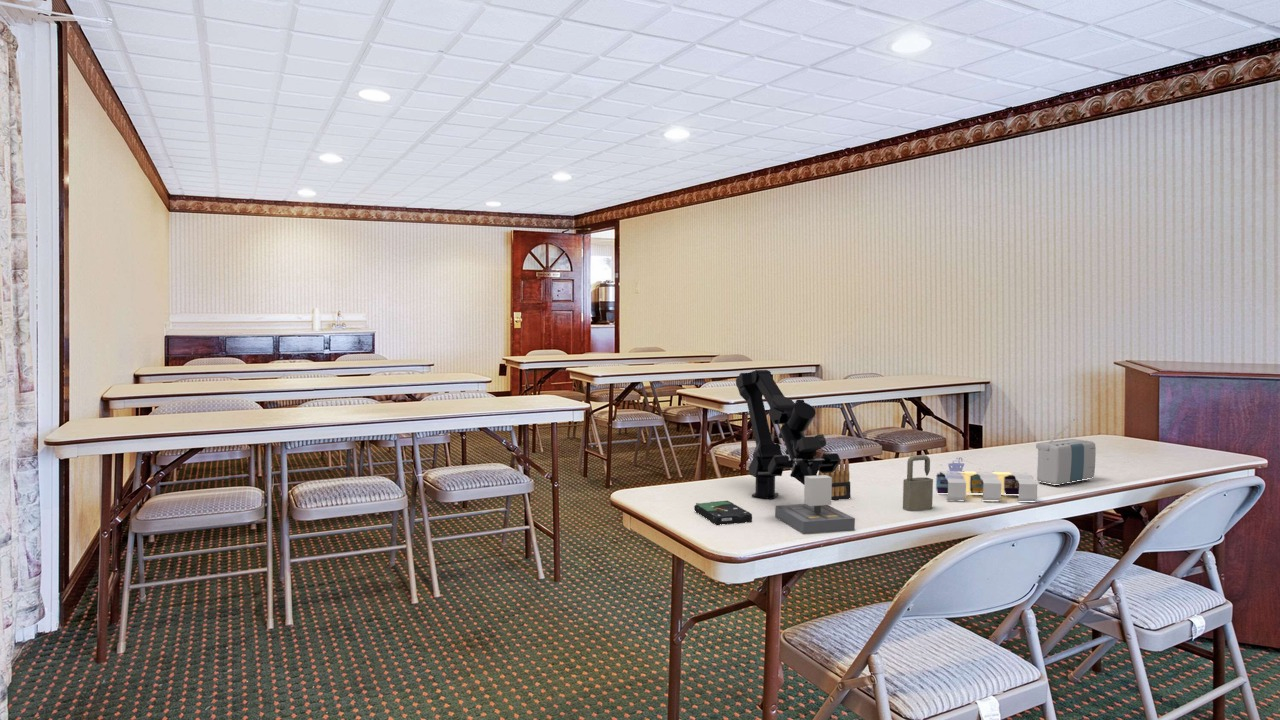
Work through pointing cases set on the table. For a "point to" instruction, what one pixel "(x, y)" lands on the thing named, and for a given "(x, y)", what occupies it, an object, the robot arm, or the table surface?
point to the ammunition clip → (840, 481)
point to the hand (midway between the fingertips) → (814, 491)
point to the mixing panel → (814, 518)
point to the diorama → (984, 484)
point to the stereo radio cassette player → (1065, 460)
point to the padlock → (917, 487)
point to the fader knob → (817, 491)
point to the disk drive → (723, 512)
